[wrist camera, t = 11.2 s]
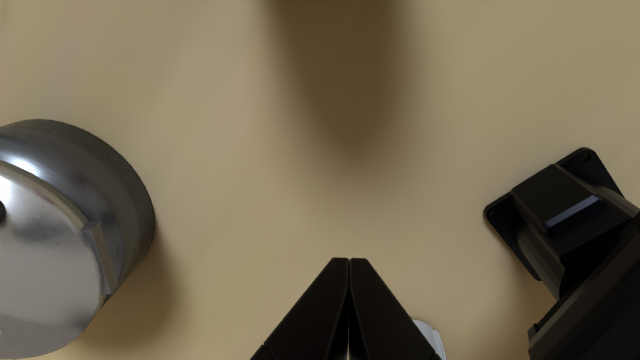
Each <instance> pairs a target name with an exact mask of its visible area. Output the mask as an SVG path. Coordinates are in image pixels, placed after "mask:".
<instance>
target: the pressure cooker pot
mask: <svg viewBox="0 0 640 360" xmlns="http://www.w3.org/2000/svg"><path fill="white" fill-rule="evenodd" d="M0 160H3V161H5V162H8V163H11V164H14V165H16V166H18V167H20V168H22V169H24V170H26V171H28V172H31V173H32V174H34V175H36V176H37V177H39V178H41V179H42V180H44V181H46V182H47V183H49V184H50V185H51V186H53V187H54V188H55V189H57V190H58V191H59V192H61V193H62V194H63V195H64V196H65V197H66V198H68V199H69V200H70V201H71V202H72V203H73V204H74V205H75V206H76V207H77V208H78V209H79V210H80V211H81V213H82V214H83V215H84V216H85V217H86V219H87V220H88V221H89V222H90V221H100V224H101V227H102V231H103V234H104V237H105V241H106V244H107V247H108V251H109V254H110V257H111V261H112V264H113V267H114V271H115V274H116V277H117V281H118V286H117V287H116V289H115V290H114V291H113V293H112V294H106V297H105V300H104V302H103V304H102V306H103V305H104V304H105V303H106V302H107V301H108V299H109V298H110V297H111V296H112V295H113V294H114V292H115V291H116V290H117V289H118V288H119V287H120V286H121V284H122V283H123V282H124V281H125V280H126V279H127V277H128V276H129V275H130V274H131V273H132V272H133V271H134V269H135V268H136V267H137V266H138V265H139V264H140V263H141V261H142V260H143V259H144V258H145V256H146V255H147V253H148V251H149V250H150V248H151V245H152V242H153V239H154V233H155V217H154V210H153V206H152V203H151V200H150V197H149V195H148V192H147V190H146V188H145V186H144V184H143V182H142V181H141V179H140V177H139V176H138V175H137V173H136V172H135V170H134V169H133V168H132V166H131V165H130V164H129V163H128V162H127V161H126V160H125V159H124V158H123V157H122V156H121V155H120V154H119V153H118V152H117V151H116V150H115V149H113V148H112V147H111V146H110V145H108V144H107V143H105V142H104V141H103V140H101V139H100V138H98V137H96V136H95V135H93V134H91V133H89V132H87V131H85V130H83V129H81V128H78V127H76V126H73V125H70V124H67V123H64V122H59V121H54V120H45V119H32V120H24V121H19V122H15V123H12V124H9V125H5V126H2V127H0ZM102 306H101V307H102ZM100 309H101V308H100ZM100 309H99V310H100Z"/></svg>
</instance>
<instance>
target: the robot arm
mask: <svg viewBox="0 0 640 360" xmlns="http://www.w3.org/2000/svg"><path fill="white" fill-rule="evenodd" d="M585 154H587V158H585V159H584V160H581V159H582V157H583V156H584V155H585ZM494 210H497V212H496V213H495V214H493V215H490V213H491V212H492V211H494ZM484 215H485V216H486V218H487V219H488V221H489V222H490V223H491V224H492V226H493V227H494V228H495V229H496V231H497V232H498V233H499V234H500V236H501V237H502V238H503V240H504V241H505V242H506V243H507V245H508V246H509V247H510V248H511V250H512V251H513V252H514V253H515V255H516V256H517V257H518V258H519V260H520V261H521V262H522V263H523V265H524V266H525V267H526V269H527V270H528V271H529V272H530V274H531V275H532V276H533V277H534V279H536V280H538V281H543V282H544V284H545V285H546V287H547V288H548V289H549V291H550V292H551V294H552V295H553V296H554V298H555V299H556V301H557V303H556V304H555V305H554V306H553V307H552V308H551V309H550V310H549V312H548V313H547V314H546V315H545V316H544V317H543V318H542V319H541V320H540V321H539V323H538V324H536V323H535V324H533V326H532V327H531V328H530V329H529V330H528V337H529V343H530V345H529V349H528V353H529V356H530V360H640V208H638V207H637V206H635V205H634V204H632V203H631V202H629V201H628V200H626V199H625V198H624V196H623V194H622V193H621V191H620V190H619V188H618V187H617V185H616V184H615V182H614V180H613V179H612V177H611V176H610V174H609V173H608V171H607V170H606V168H605V166H604V165H603V163H602V162H601V160H600V159H599V157H598V156H597V154H596V153H595V152H594V151H593V150H591V149H590V148H587V147H582V148H580V149H577V150H576V151H574V152H573V153H571V154H569V155H568V156H566V157H565V158H563V159H561V160H560V161H558V162H557V163H555V164H551V165H549V166H548V167H546V168H544V169H543V170H541V171H540V172H538V173H536V174H535V175H533V176H532V177H530V178H528V179H527V180H525V181H523V182H522V183H520V184H519V185H517V186H515V187H514V188H512V190H511V191H510V192H508V193H507V194H505V195H503V196H502V197H500V198H498V199H497V200H495V201H494V202H492V203H490V204H489V205H487V206H486V207H485V209H484ZM348 329H349V360H442V359H441V358H440V356H439V355H438V354H437V353H436V352H435V350H434V348H433V347H432V346H431V344H430V343H429V342H428V340H427V339H426V338H425V336H424V335H423V334H422V332H421V331H420V330H419V328H418V327H417V326H416V324H415V323H414V322H413V320H412V319H411V318H410V316H409V315H408V314H407V312H406V311H405V310H404V308H403V307H402V305H401V304H400V303H399V301H398V300H397V299H396V297H395V296H394V295H393V293H392V292H391V291H390V289H389V288H388V287H387V285H386V284H385V283H384V281H383V280H382V279H381V277H380V276H379V275H378V273H377V272H376V271H375V269H374V268H373V267H372V265H371V264H370V263H369V261H368V260H367V259H366V258H351V259H350V265H349V259H348V258H338V257H334V258H332V259H331V260H330V261H329V263H328V264H327V265H326V266H325V268H324V269H323V270H322V271H321V272H320V274H319V275H318V276H317V277H316V279H315V280H314V281H313V282H312V284H311V285H310V286H309V287H308V289H307V290H306V291H305V292H304V294H303V295H302V296H301V297H300V298H299V300H298V301H297V302H296V303H295V305H294V306H293V307H292V308H291V310H290V311H289V312H288V313H287V315H286V316H285V317H284V318H283V319H282V321H281V322H280V323H279V324H278V326H277V327H276V328H275V329H274V331H273V332H272V333H271V334H270V336H269V337H268V338H267V339H266V341H265V342H264V345H261V346H260V348H259V349H258V350H257V351H256V353H255V354H254V355H253V356H252V358H251V359H250V360H347V355H348Z"/></svg>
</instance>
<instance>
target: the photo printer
mask: <svg viewBox="0 0 640 360" xmlns="http://www.w3.org/2000/svg"><path fill="white" fill-rule="evenodd" d="M413 322H414V323H415V324H416V326H417V327H418V328H419V330H420V331H421V332H422V334H423V335H424V336H425V338H426V339H427V340H428V342H429V343H430V344H431V346H432V347H433V348H434V350H435V352H436V353H437V354H438V355H439V356H440V358H441V359H442V360H447V359H446V355H445V352H444V348H443V344H442V341H441V338H440V335H439V333H438V331H437V330H433V329H432V328H431V326H430V325H428V324H426V323H424V322H422V321H418V320H413Z"/></svg>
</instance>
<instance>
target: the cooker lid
mask: <svg viewBox="0 0 640 360" xmlns="http://www.w3.org/2000/svg"><path fill="white" fill-rule="evenodd" d="M117 286H118V281H117V277H116V274H115V271H114V267H113V264H112V261H111V257H110V254H109V251H108V247H107V244H106V241H105V237H104V234H103V231H102V227H101V224H100V221H90V222H89V221H88V220H87V219H86V217H85V216H84V215H83V214H82V213H81V211H80V210H79V209H78V208H77V207H76V206H75V205H74V204H73V203H72V202H71V201H70V200H69V199H68V198H66V197H65V196H64V195H63V194H62V193H61V192H59V191H58V190H57V189H55V188H54V187H53V186H51V185H50V184H49V183H47V182H46V181H44V180H42V179H41V178H39V177H37V176H36V175H34V174H32V173H31V172H28V171H26V170H24V169H22V168H20V167H18V166H16V165H14V164H11V163H8V162H5V161H3V160H0V359H21V358H30V357H35V356H41V355H44V354H47V353H50V352H54V351H56V350H58V349H60V348H62V347H64V346H66V345H67V344H69V343H70V342H72V341H74V340H75V339H76V338H77V337H78V336H79V335H80V334H81V333H82V332H83V331H84V330H85V328H86V327H87V326H88V324H89V323H90V322H91V320H92V319H93V318H94V316H95V315H96V313H97V312H98V311H99V309H100V308H101V306H102V304H103V302H104V300H105V297H106V294H112V293H113V291H114V290H115V289H116V287H117Z"/></svg>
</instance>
